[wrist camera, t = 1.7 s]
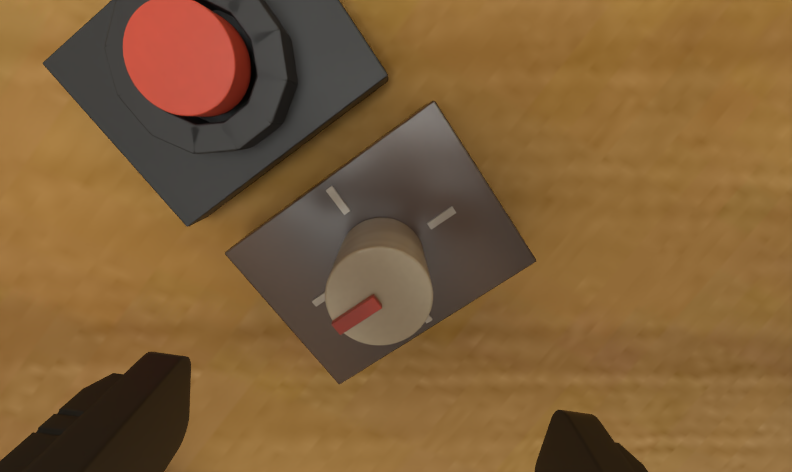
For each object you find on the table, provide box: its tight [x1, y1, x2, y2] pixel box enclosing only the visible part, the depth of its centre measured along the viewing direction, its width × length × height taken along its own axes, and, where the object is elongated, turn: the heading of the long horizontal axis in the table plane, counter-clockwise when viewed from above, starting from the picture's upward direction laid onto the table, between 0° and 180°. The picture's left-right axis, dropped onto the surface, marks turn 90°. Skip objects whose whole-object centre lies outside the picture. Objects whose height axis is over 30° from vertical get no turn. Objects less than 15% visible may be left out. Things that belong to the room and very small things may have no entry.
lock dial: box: [325, 217, 433, 345], centre depth 16 cm, size 4×4×5 cm
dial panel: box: [225, 101, 536, 384], centre depth 20 cm, size 12×9×3 cm
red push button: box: [123, 0, 251, 117], centre depth 15 cm, size 4×4×2 cm
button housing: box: [43, 0, 388, 227], centre depth 17 cm, size 12×9×4 cm
